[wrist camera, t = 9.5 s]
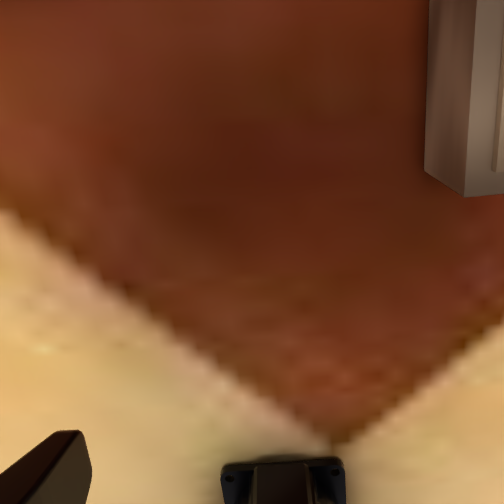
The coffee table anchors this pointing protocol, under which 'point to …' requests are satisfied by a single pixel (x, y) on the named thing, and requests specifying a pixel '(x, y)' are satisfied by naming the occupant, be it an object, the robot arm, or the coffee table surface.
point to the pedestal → (466, 96)
